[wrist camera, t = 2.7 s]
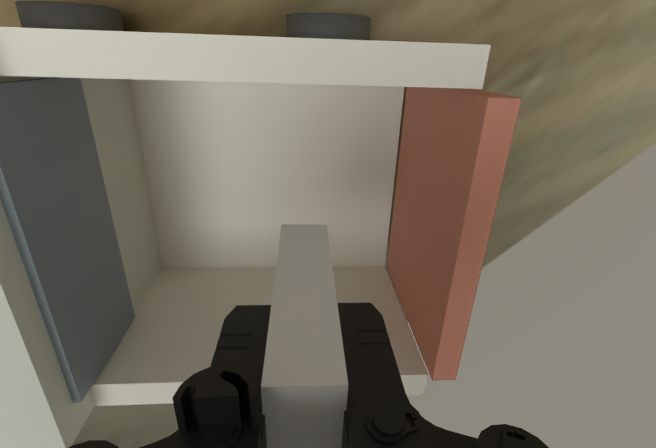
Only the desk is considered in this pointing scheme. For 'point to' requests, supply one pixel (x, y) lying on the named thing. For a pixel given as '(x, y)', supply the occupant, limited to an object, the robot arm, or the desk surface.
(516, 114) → the panel
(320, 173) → the truck
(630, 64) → the desk surface
